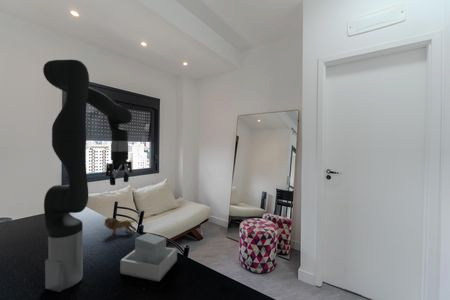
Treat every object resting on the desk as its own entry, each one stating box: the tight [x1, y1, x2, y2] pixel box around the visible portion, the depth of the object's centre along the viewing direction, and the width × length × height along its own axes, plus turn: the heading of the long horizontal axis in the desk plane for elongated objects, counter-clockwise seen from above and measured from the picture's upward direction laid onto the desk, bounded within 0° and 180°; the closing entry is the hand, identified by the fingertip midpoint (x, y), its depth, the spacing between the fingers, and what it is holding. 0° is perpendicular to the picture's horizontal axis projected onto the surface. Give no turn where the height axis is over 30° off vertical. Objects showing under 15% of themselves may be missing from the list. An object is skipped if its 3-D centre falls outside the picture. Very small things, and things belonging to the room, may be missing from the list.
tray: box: [119, 246, 178, 282], centre depth 79 cm, size 13×16×5 cm
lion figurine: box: [104, 217, 136, 236], centre depth 107 cm, size 15×5×9 cm, turn 112°
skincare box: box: [134, 232, 167, 265], centre depth 79 cm, size 10×6×10 cm, turn 64°
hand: (119, 183), depth 99 cm, fingers open, 8 cm apart
